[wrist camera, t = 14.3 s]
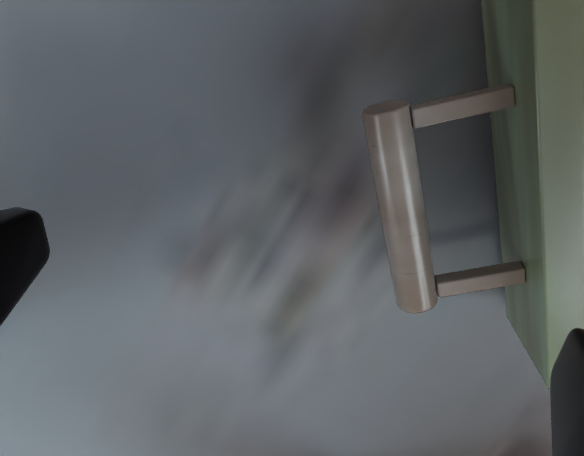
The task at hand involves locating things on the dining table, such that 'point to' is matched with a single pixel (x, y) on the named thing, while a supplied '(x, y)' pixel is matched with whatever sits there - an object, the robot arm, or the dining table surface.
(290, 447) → the dining table surface
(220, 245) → the dining table surface
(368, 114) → the drawer
